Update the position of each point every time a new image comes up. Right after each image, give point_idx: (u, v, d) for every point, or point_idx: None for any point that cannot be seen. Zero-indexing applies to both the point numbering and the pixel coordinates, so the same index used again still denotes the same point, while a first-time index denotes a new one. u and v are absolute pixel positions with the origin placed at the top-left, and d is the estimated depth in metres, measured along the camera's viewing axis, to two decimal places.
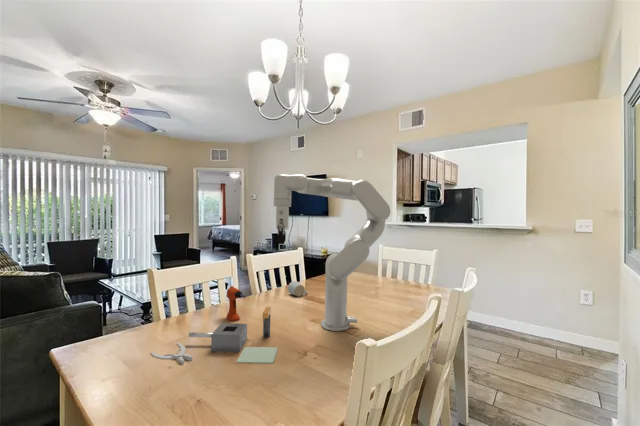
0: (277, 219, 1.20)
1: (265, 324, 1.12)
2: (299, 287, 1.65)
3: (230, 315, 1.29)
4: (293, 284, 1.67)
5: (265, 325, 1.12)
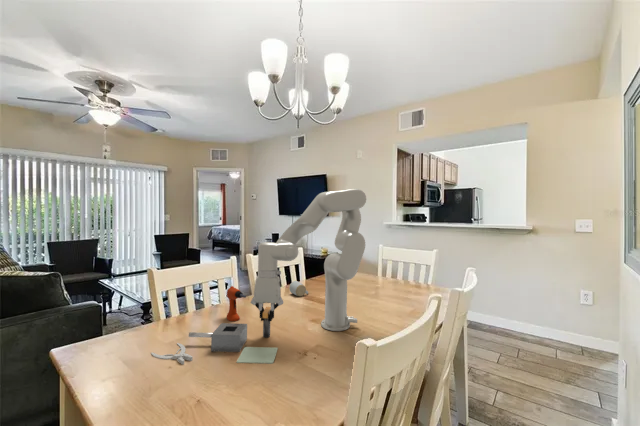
0: (278, 292, 1.12)
1: (265, 324, 1.12)
2: (300, 287, 1.65)
3: (230, 315, 1.29)
4: (294, 284, 1.68)
5: (265, 325, 1.12)
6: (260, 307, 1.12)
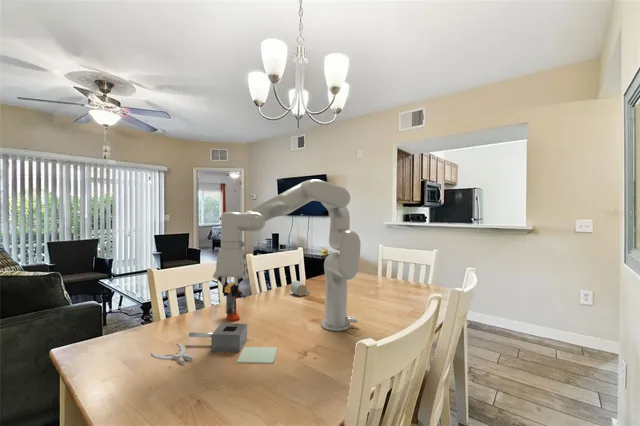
0: (243, 265, 1.04)
1: (228, 299, 1.04)
2: (301, 287, 1.66)
3: (230, 315, 1.29)
4: (295, 284, 1.68)
5: (228, 300, 1.04)
6: (223, 281, 1.04)
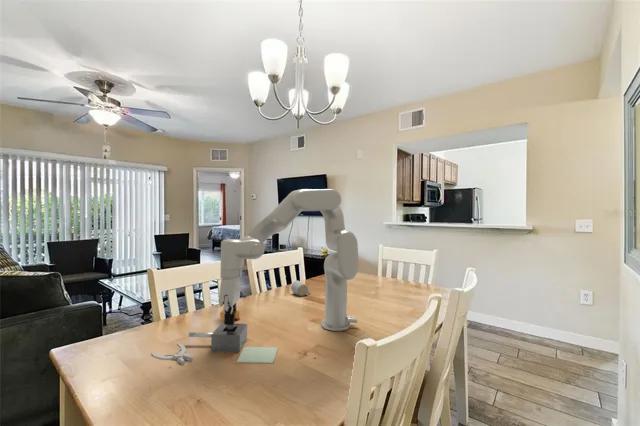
0: None
1: (233, 326, 1.05)
2: (302, 286, 1.66)
3: None
4: (296, 284, 1.69)
5: (233, 327, 1.05)
6: (232, 310, 1.03)
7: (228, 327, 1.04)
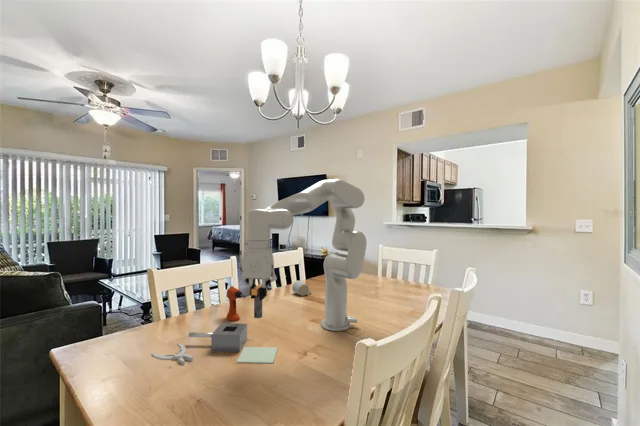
0: None
1: None
2: (303, 286, 1.67)
3: (230, 315, 1.29)
4: (297, 283, 1.69)
5: None
6: None
7: (261, 302, 0.98)
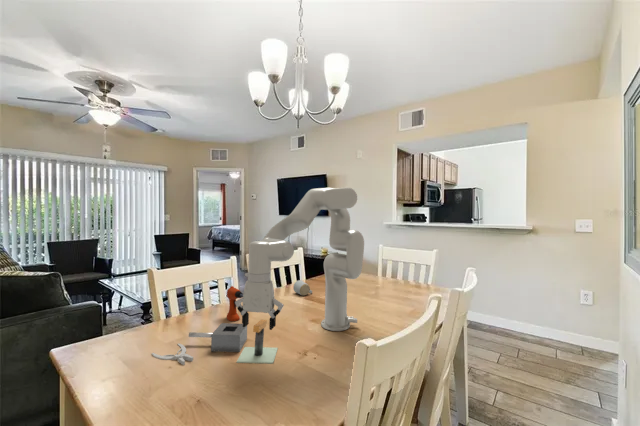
0: None
1: None
2: (304, 286, 1.67)
3: (230, 315, 1.29)
4: (298, 283, 1.70)
5: None
6: None
7: (262, 339, 0.98)
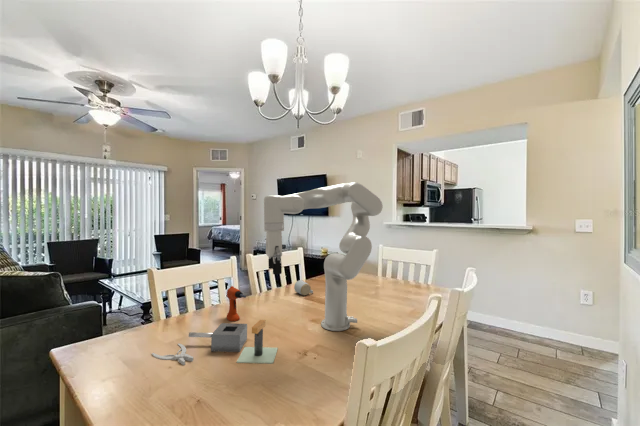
0: None
1: None
2: (305, 286, 1.67)
3: (230, 315, 1.29)
4: (299, 283, 1.70)
5: None
6: (280, 260, 1.07)
7: (261, 339, 0.98)
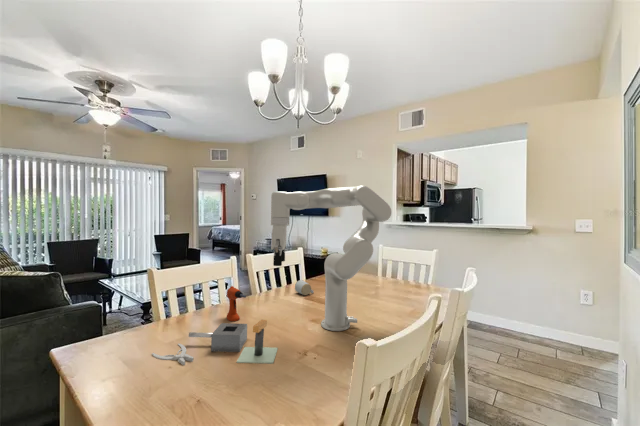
0: None
1: None
2: (306, 286, 1.68)
3: (230, 315, 1.29)
4: (300, 283, 1.70)
5: None
6: (281, 252, 1.12)
7: (262, 339, 0.98)
